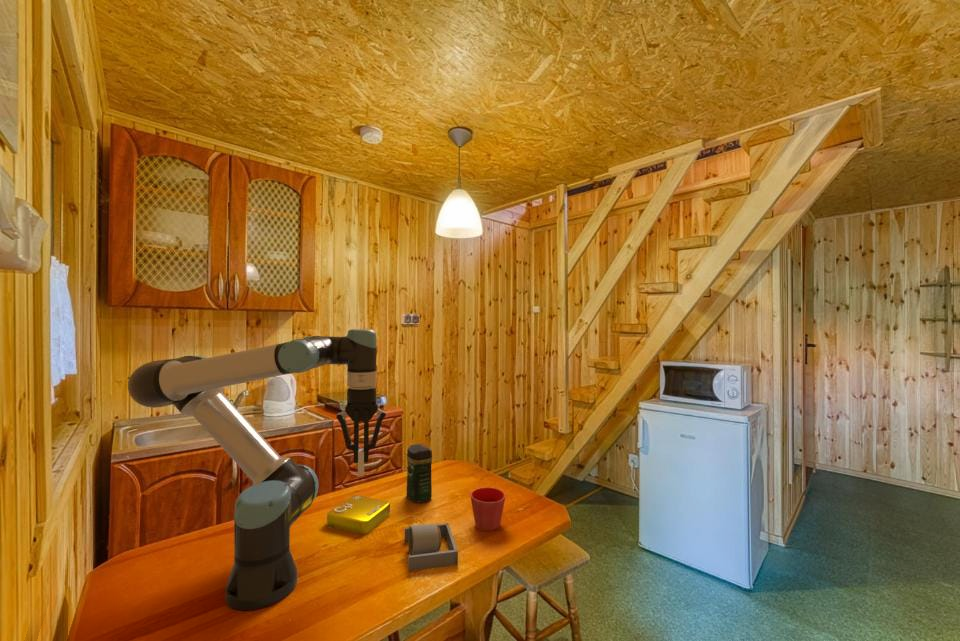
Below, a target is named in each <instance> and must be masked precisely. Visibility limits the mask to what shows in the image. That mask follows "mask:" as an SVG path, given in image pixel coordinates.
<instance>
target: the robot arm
mask: <svg viewBox="0 0 960 641" xmlns="http://www.w3.org/2000/svg"><path fill="white" fill-rule="evenodd" d="M377 349H378V345H377V333H376V331H375V330H373V329H365V328H363V329H362V328H361V329H360V328H359V329H357V328H356V329H355V328H354V329H353V328H352V329H349V330H348V331H347V335H346V336H330V335H329V336H328V335H327V336H326V335H325V336H323V335H322V336H321V335H311V336H309V335H307V336H305V337H304V338H298V339H293V340H290V341H286V342H283V343H276V344H271V345H265V346H261V347H255V348H250V349H246V350H240V351H235V352H230V353H226V354H222V355H217V356H210V357H205V356H202V355H200V356H199V355H184V356H179V357H175V358H170V359H160V360H158V359H157V360H153V361H149V362H146V363H144V364H141V366H138V368H136V369H135V370H134V371H133V372H132V373H131V375H130V376H129V379H128V382H127V391H128V393H129V396H130V397H131V399H132V400H133V401H134V402H135V403H137V404H139V405H140V406H144V407H146V408H163V407H168V406H172V405H173V406H174V407H175V409H177V410H178V411H179V413H181V415H185V416H188V415H189V416H193V418H194V419H195V420H197V422H198V423H199V425H201V426H202V428H204V430H205V431H206V432H207V434H209V435H210V436H211V437H212V439H214V440H215V442H216V443H217V444H218V445H219V447H221V448H222V449H223V451H224V452H226V454H227V455H228V456H229V457H230V458H231V460H233V461H234V463H235V464H236V465H237V466H238V467H239V468H240V469H241V470H242V472H243V473H244V474H245V475H247V477H248V478H249V479H250V480H251V481H252V485H250V486H249V487H247V488H246V489H244V490H243V491H242V492H241V493H240V494H239V495H238V497H237V498H236V499H235V504H234V511H233V521H234V523H233V526H234V528H233V530H234V535H233V537H234V538H233V540H234V548H233V549H234V551H233V552H234V553H233V554H234V558H233V559H234V560H233V564H232V568H231V571H230V574H229V576H228V579H227V582H226V586H225V591H224V594H225V595H224V599H225V600H224V601H225V603H226V605H227V606H228V607H229V608H231V609H234V610H239V611H254V610H258V609H259V610H260V609H262V608H266V607H269V606H271V605H273V604H276V603H277V602H279V601H281V600H283V599H284V598H286V597H287V596H288V595H290V593H292V592H293V590H294V589H295V587H296V586H297V582H298V568H297V565H296V563H295V560H294V556H293V555H292V553H291V549H290V547H291V546H290V544H291V542H290V541H291V540H290V539H291V538H290V536H291V534H290V533H291V526H292V525H293V524H294V523H295V522H296V521H297V519H298V518H300V517H301V515H303V513H305V512H306V510H308V508H310V507H311V506H312V504H313V502H314V500H315V499H316V497H317V495H318V493H319V486H320V484H319V483H320V482H319V479H318V476H317V474H316V473H315V470H313V469H312V468H311V467H309V466H307V465H305V464H303V465H302V464H297V463H296V462H295V461H294V460H293V459H292V458H291V457H282V456H281V455H280V454H279V453H278V452H277V450H275V449H274V448H273V446H271V444H270V443H269V442H268V440H266V439H265V438H264V437H263V436H262V435H261V433H260V432H259V431H258V430H257V429H256V428H255V426H253V425H252V424H251V422H250V421H249V420H248V419H247V418H246V417H245V415H243V414H242V413H241V411H240V410H239V409H238V408H237V406H235V405H234V404H233V403H232V402H231V401H230V399H229V398H228V397H227V396H226V395H225V394H224V391H225V387H231V386H235V385H241V384H246V383H249V382H255V381H260V380H264V379H270V378H273V377H274V378H275V377H279V376H284V375H289V374H290V375H291V374H301V373H305V372H308V371H310V370H313V369H315V368H316V369H317V368H320V367H322V366H326V365H346V366H347V367H346V369H347V374H346V375H347V378H346V380H347V381H346V385H347V387H348V388H347V389H346V406H345V407H344V410H343V411H340V412H337V414H336V419H337V421H338V422H339V423H340V426H341V432H342V435H343V440H344V443H345V446H346V450H348V451H349V450H350V451H353V463H354V464H357V477H365V464H366V463H368V462H369V459H370V458H369V455H370V453H369V451H370V450H371V449H375V448H376V446H377V442H378V438H379V434H380V430H381V427H382V422H383V421H384V418H385V417H386V414H387V413H386V411H385V410H381V409H380V408H379V406H378V404H377V388H376V386H377V354H378V353H377V352H378V350H377ZM375 414H376V423H375V425H374V426H375V427H374V430H373V434H372V437H371V442H370V441H369V439H370V432H369V431H370V430H369V428H370V420H372V418H374V416H375ZM347 416H348V417H349V418H350V420H351V421H352V422H353V443H352V439H351V435H350V432H349V431H350V430H349V427H348V423H347ZM361 422H362V423H363V448H359V447H360V446H359V445H360V423H361Z"/></svg>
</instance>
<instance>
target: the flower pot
mask: <svg viewBox="0 0 960 641" xmlns="http://www.w3.org/2000/svg"><path fill="white" fill-rule="evenodd" d="M470 500H471V503H470V504H471V508H472V515H473V519H474V524H475V527H476V528H477V529H478V528H479V530H480V529H481V531H483V530H485V531H487V532H493V531H495V529H496V530H498V529H499V528H500V526H501V522H502V517H503V512H504V505H505V501H506V494H505V492H504V491H503V490H501V489H499V488H495V487H488V486H487V487H479V488H475V489H474V490H472V491H471V493H470ZM497 528H498V529H497ZM492 530H493V531H492ZM485 531H484V532H485Z"/></svg>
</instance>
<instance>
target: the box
mask: <svg viewBox="0 0 960 641" xmlns="http://www.w3.org/2000/svg"><path fill="white" fill-rule="evenodd" d="M436 525H438V526H439V528H440V532H441V538H444V537H446V541H447V544H448V548H449V550H446V551H445V550H443V551H438V552H435V553H427V554H419V555H411V556H410V555H407V556H408V558H407V559H408V562H407V563H408V564H407V567H408V572H413V571H420V570H428V569H435V568H442V567H443V568H444V567H450V566H458V565H459V560H458V559H459V551H458V547H457V545H456V541H455V539H454V535H453V532H452V530H451V527H450V523H448V522H445V523H437V524H436ZM409 527H410V526H409ZM409 527H404V541H405V542H408V530H409Z"/></svg>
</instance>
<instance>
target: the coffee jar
mask: <svg viewBox="0 0 960 641" xmlns="http://www.w3.org/2000/svg"><path fill="white" fill-rule="evenodd" d="M406 459H407V468H406V469H407V470H406V471H407V472H406V474H407V475H406V476H407V477H406V496H407V498H408V500H409V501H411V502H413V503H425V502H427V501H429V500H431V499H432V496H433V495H432V486H433V485H432V461H433V451H432V449H430V448H429V447H427V446H425V445H423V444H421V443H417V444H411V445H409V446H408V447H407V452H406Z"/></svg>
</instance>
